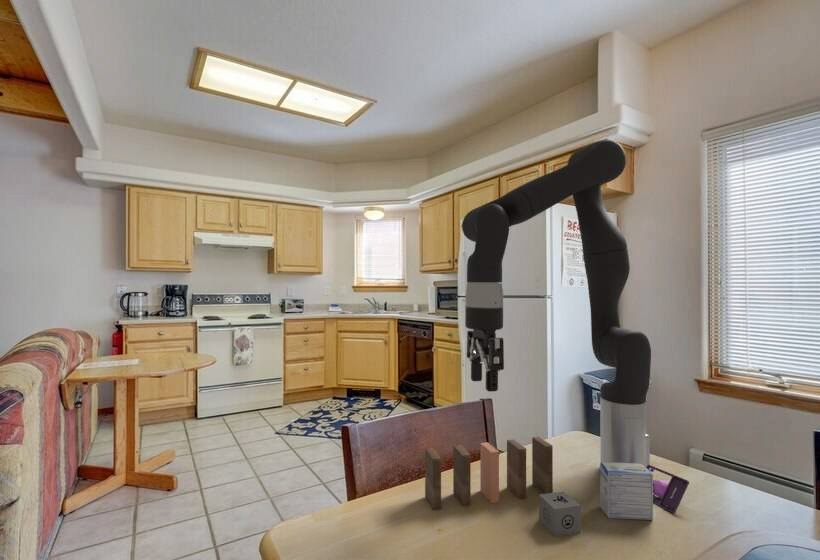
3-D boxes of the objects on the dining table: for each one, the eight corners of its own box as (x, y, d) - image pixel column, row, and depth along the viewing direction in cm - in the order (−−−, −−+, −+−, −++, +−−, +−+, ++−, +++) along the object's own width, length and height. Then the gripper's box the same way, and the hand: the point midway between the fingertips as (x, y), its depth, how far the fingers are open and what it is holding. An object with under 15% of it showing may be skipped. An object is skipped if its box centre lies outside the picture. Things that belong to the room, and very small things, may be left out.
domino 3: (487, 490, 86) (487, 442, 86) (498, 502, 81) (498, 451, 81) (480, 491, 85) (480, 442, 86) (491, 503, 81) (491, 452, 81)
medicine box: (642, 508, 79) (642, 463, 79) (653, 521, 75) (653, 473, 75) (599, 506, 80) (599, 461, 80) (608, 519, 76) (608, 471, 76)
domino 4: (513, 486, 87) (513, 439, 88) (526, 498, 83) (526, 448, 83) (506, 487, 87) (506, 440, 87) (519, 499, 82) (519, 449, 82)
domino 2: (460, 494, 84) (460, 445, 84) (470, 506, 80) (470, 454, 80) (453, 495, 84) (453, 445, 84) (462, 508, 79) (462, 455, 79)
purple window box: (670, 510, 77) (631, 490, 85) (688, 525, 78) (647, 504, 86) (686, 478, 79) (645, 462, 87) (702, 493, 80) (661, 475, 88)
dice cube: (580, 534, 71) (580, 505, 71) (554, 538, 70) (554, 509, 70) (563, 518, 76) (563, 491, 76) (538, 522, 75) (538, 494, 75)
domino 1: (432, 498, 83) (432, 447, 83) (441, 511, 78) (441, 458, 78) (425, 499, 82) (425, 448, 83) (432, 512, 78) (433, 459, 78)
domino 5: (538, 483, 89) (538, 436, 89) (552, 494, 84) (552, 445, 84) (532, 484, 89) (532, 437, 89) (545, 495, 84) (545, 446, 84)
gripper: (517, 307, 77) (516, 394, 77) (488, 303, 91) (488, 377, 91) (478, 307, 76) (478, 395, 76) (455, 303, 90) (455, 378, 90)
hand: (483, 385), depth 83 cm, fingers open, 8 cm apart
